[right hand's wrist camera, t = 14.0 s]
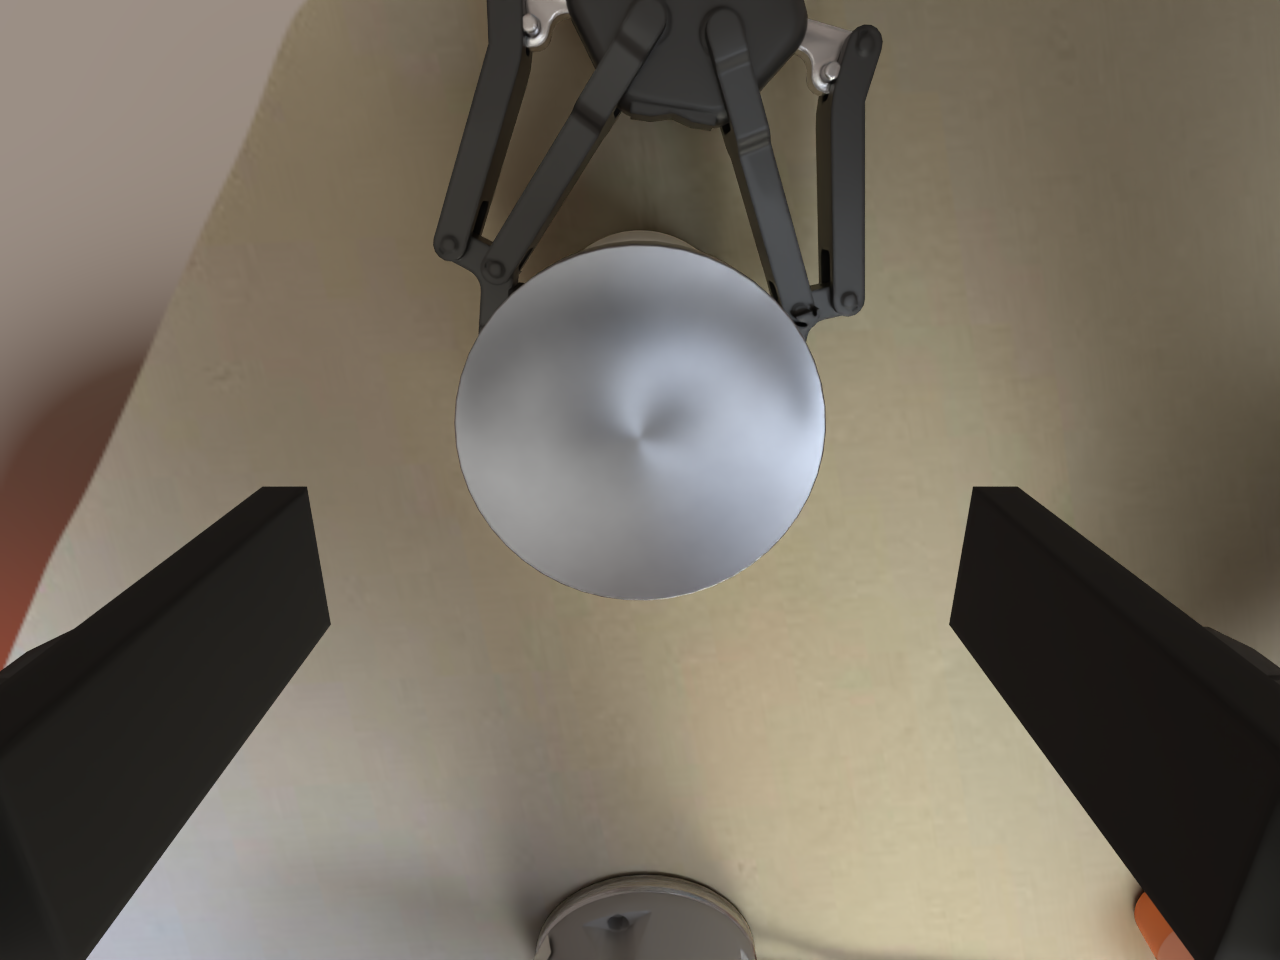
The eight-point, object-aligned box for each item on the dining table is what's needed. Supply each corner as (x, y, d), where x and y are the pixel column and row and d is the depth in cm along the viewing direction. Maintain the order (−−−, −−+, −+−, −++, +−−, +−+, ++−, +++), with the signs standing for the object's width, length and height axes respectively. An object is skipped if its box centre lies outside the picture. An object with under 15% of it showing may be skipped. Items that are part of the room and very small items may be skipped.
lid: (663, 157, 19) (666, 152, 17) (876, 438, 21) (898, 460, 20) (399, 398, 21) (376, 416, 19) (621, 624, 24) (619, 660, 22)
